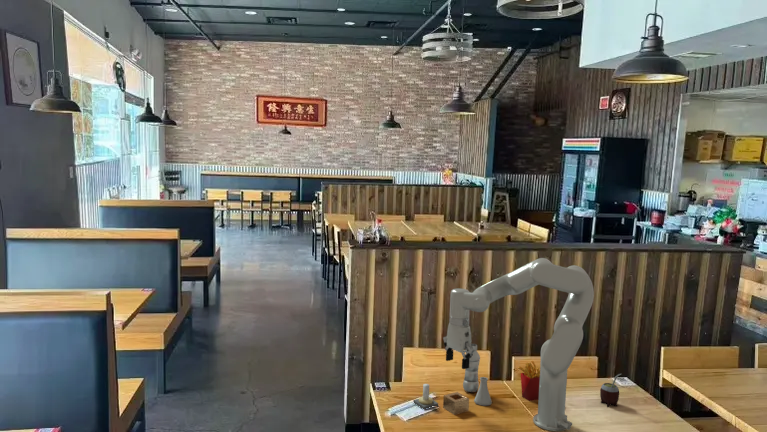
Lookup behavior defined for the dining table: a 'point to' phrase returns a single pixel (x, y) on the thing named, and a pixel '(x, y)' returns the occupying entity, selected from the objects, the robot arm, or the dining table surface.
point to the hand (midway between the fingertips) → (457, 364)
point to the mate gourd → (609, 393)
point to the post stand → (425, 399)
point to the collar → (456, 403)
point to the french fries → (530, 382)
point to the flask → (483, 393)
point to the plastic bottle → (472, 372)
